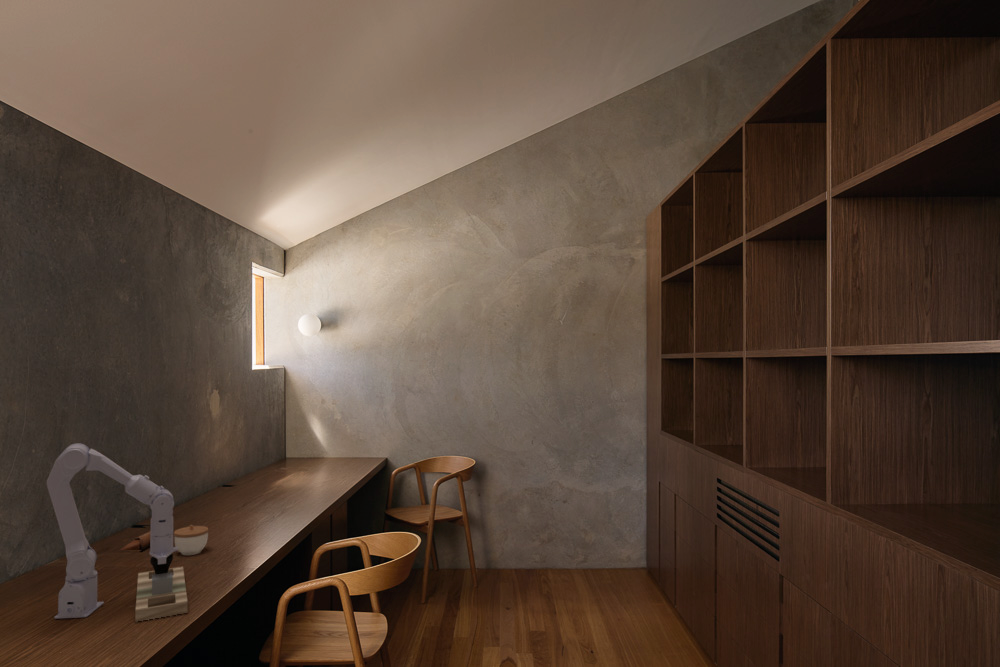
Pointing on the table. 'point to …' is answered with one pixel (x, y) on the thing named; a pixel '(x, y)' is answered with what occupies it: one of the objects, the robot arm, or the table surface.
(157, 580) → the block
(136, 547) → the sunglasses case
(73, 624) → the table surface
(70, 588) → the robot arm
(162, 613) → the trap deck
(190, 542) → the lidded jar
